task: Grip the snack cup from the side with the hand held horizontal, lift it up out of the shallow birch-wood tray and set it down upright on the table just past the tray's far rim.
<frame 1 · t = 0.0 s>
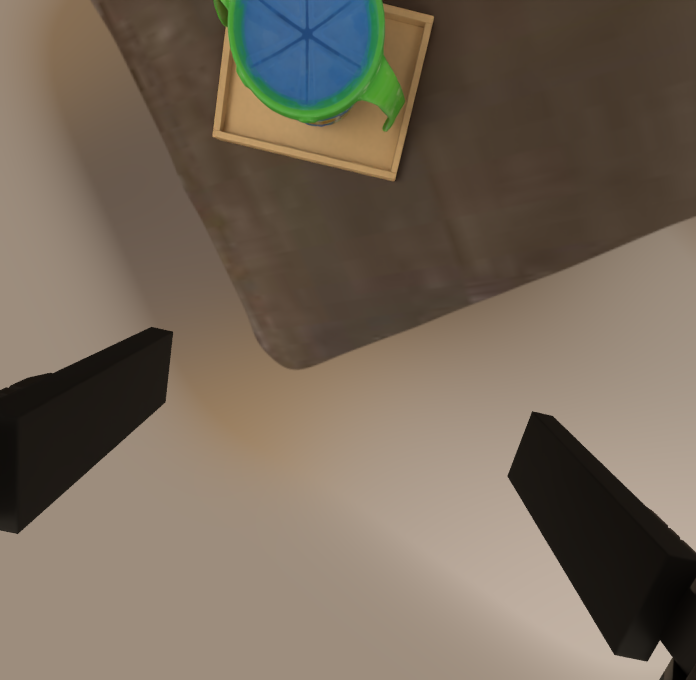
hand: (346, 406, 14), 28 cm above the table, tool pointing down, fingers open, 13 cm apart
tray: (320, 83, 36), on the table
snack cup: (320, 83, 36), resting on tray
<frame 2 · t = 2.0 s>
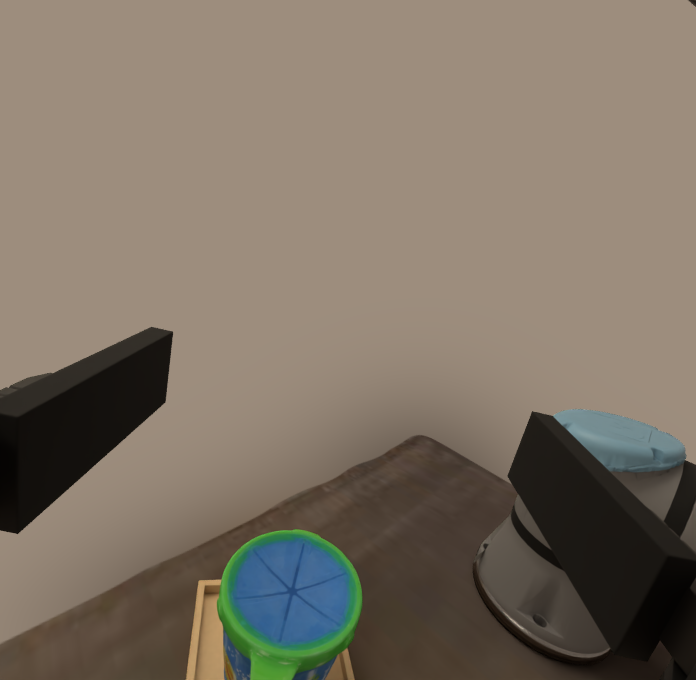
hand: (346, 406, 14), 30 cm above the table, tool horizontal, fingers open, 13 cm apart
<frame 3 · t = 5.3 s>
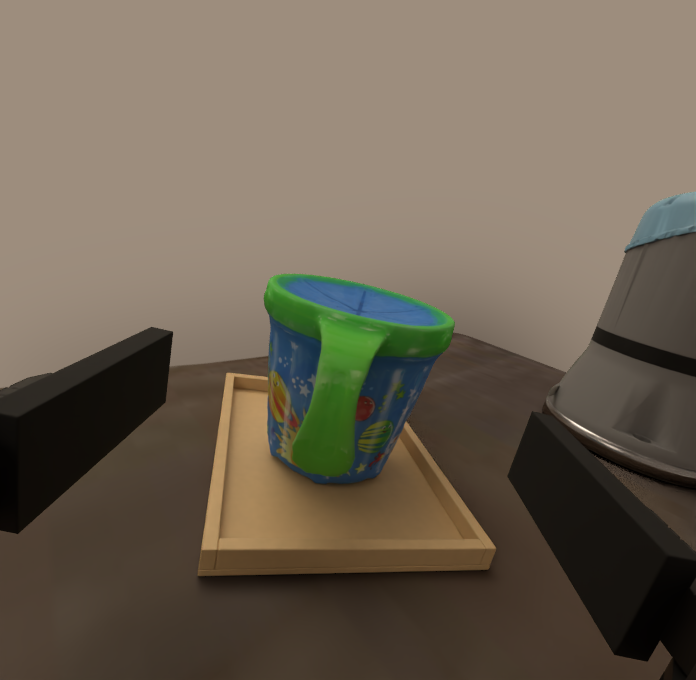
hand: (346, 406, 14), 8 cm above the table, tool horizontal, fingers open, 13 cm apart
tray: (324, 456, 25), on the table
snack cup: (325, 455, 25), resting on tray
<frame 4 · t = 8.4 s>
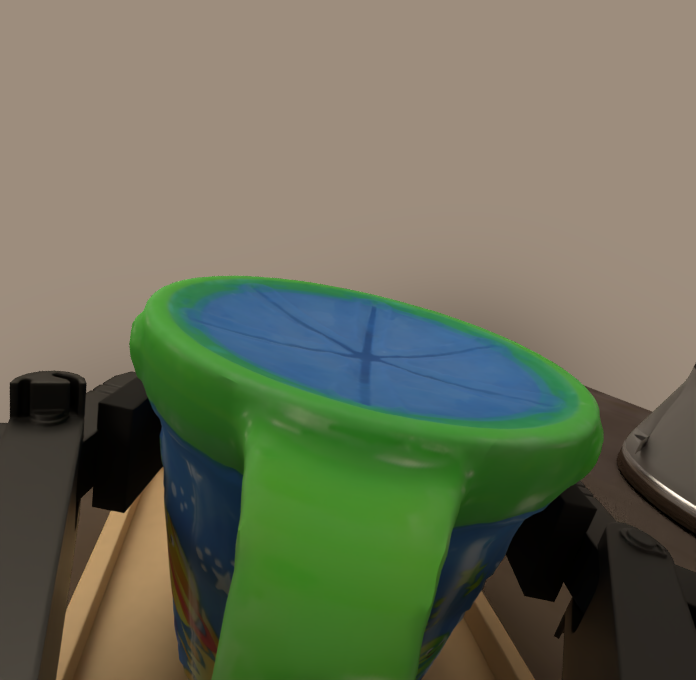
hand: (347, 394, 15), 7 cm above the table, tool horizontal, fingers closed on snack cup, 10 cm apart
tray: (297, 631, 13), on the table
snack cup: (298, 628, 13), resting on tray, touching gripper
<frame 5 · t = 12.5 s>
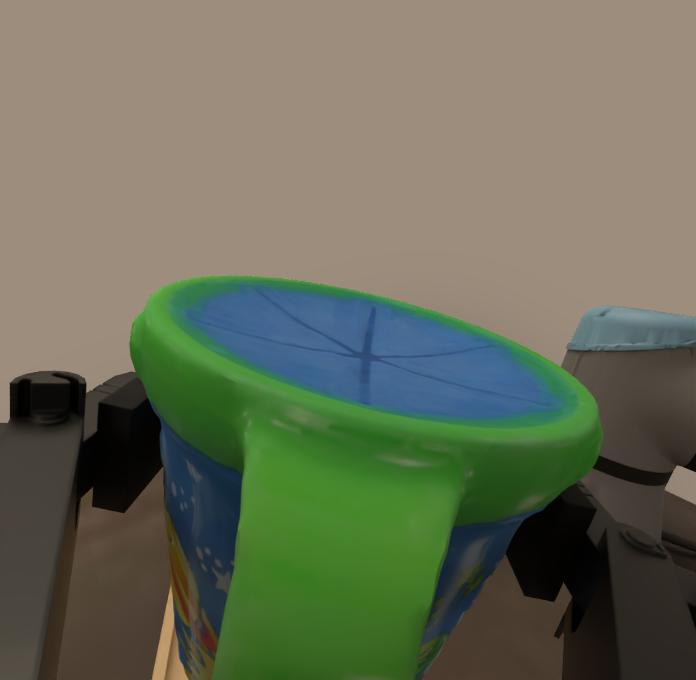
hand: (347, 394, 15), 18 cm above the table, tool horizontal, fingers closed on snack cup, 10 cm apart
tray: (273, 576, 28), on the table
snack cup: (298, 628, 13), point 12 cm above the table, touching gripper
when the fingers open (6 cm above the table, at t = 16.8 s): snack cup stays where it is, on the table.
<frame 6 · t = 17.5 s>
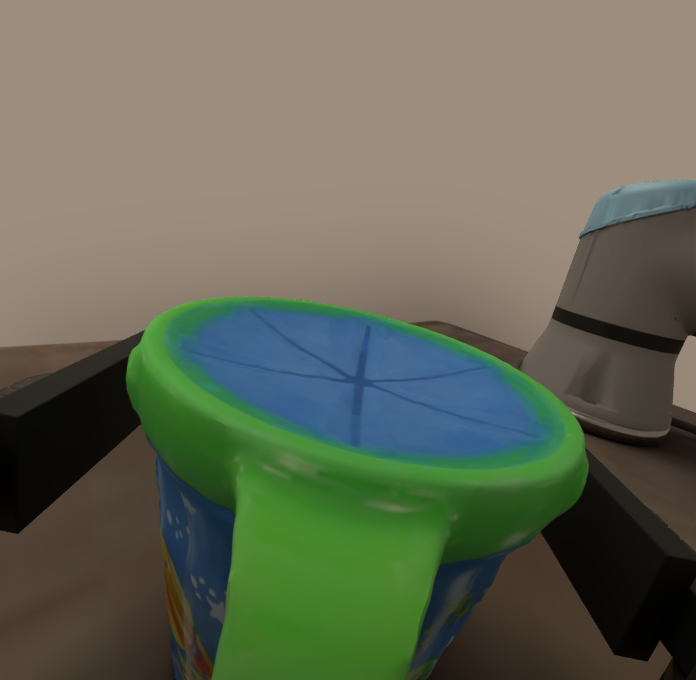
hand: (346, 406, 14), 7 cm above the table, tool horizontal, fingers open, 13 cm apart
snack cup: (293, 644, 13), on the table
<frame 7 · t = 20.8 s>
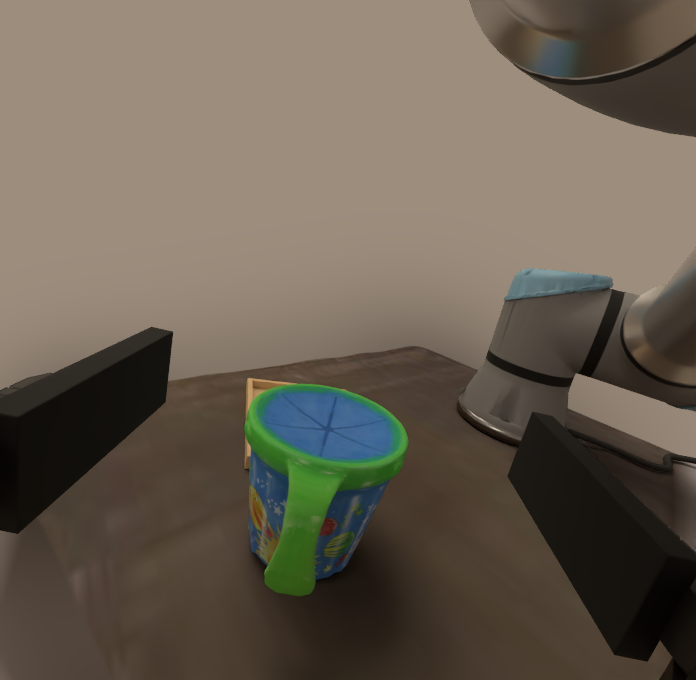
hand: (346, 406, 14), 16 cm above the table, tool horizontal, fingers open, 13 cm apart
tray: (305, 425, 45), on the table
snack cup: (299, 544, 29), on the table
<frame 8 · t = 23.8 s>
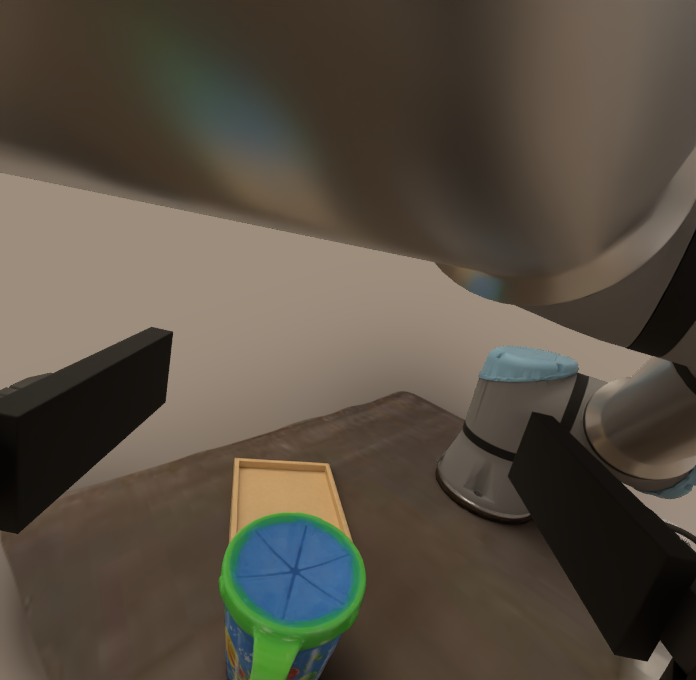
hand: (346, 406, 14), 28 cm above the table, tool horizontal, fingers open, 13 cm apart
tray: (287, 512, 49), on the table
snack cup: (273, 663, 32), on the table
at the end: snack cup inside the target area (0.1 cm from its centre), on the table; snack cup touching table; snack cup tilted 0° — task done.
